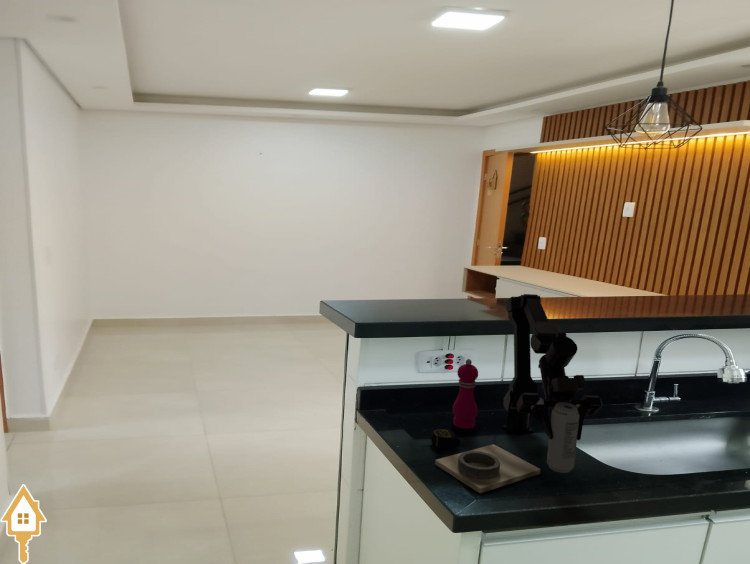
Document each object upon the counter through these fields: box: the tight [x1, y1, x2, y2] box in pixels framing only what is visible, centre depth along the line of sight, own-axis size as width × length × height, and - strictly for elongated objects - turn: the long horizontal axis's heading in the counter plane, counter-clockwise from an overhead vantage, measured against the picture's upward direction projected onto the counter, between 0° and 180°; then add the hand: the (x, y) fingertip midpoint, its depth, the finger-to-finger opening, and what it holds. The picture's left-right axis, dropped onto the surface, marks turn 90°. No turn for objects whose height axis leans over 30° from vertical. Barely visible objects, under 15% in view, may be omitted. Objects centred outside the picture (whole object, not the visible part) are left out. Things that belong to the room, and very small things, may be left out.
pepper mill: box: [452, 358, 479, 430], centre depth 166 cm, size 7×7×20 cm
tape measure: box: [430, 428, 461, 450], centre depth 152 cm, size 7×7×4 cm
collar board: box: [434, 443, 541, 494], centre depth 139 cm, size 20×16×4 cm
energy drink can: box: [546, 402, 579, 474], centre depth 130 cm, size 6×6×15 cm
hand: (565, 439), depth 129 cm, fingers closed on energy drink can, 6 cm apart
